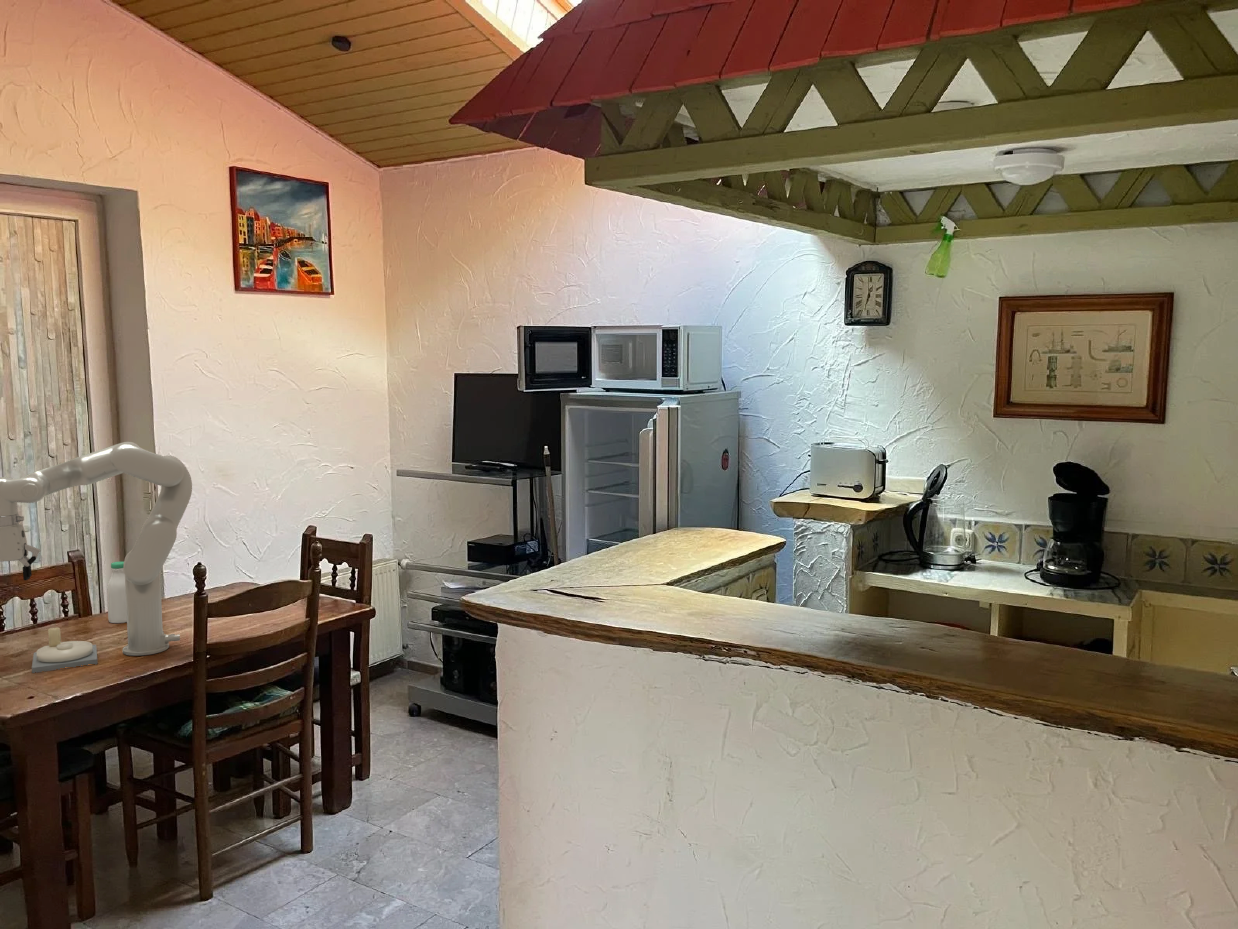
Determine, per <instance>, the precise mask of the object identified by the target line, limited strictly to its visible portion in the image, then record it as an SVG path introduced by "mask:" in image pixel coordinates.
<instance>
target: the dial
mask: <svg viewBox="0 0 1238 929" xmlns="http://www.w3.org/2000/svg"><path fill="white" fill-rule="evenodd" d="M47 636H48V645H44V646H42V647H40V648H38V649H37V650H36V652H37V660H38V661H41V662H64V661H71V660H76V659H80V658H83V657H86V656H88V655H90V654H91V653H92V652H93V646H92V645H93V643H92V642H90V641H85V640H70V641H69V640H68V641H61V640H62V639H61V628H60V627H50V628H48V629H47Z"/></svg>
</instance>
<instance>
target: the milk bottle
mask: <svg viewBox="0 0 1238 929" xmlns="http://www.w3.org/2000/svg"><path fill="white" fill-rule="evenodd" d="M123 566H124V561H114V562H112V563H110V568H111V574H110V577H109V580H108V582H107V586H106V592H107V593H106V594H107V596H106V597H107V600H106V601H107V619H108V622H109V623H111V624H124V623H127V613H126V591H125V575H124V571H123Z"/></svg>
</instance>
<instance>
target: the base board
mask: <svg viewBox="0 0 1238 929" xmlns="http://www.w3.org/2000/svg"><path fill="white" fill-rule="evenodd" d="M92 646H93V652H92V653H91V654H90V655H88V656H86V657H83V658H80V659H76V660H71V661H64V662H41V661H38V660H37V651H35V652H33V656H32V663H31V664H32V665H31V673H32V674H34V673H35V672H36V673H41V672H42V671H44V672H50V671H57V670H56V669H58V670H61V669H60V668H65V667H73V668H77V667H76V666H80V667H84V666H83V665H87V666H89V665H88V664H95V665H98V662H99V661H98V654H97V653H98V649H97V644H92ZM81 665H82V666H81ZM42 673H43V672H42Z"/></svg>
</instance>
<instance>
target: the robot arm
mask: <svg viewBox="0 0 1238 929" xmlns="http://www.w3.org/2000/svg"><path fill="white" fill-rule="evenodd" d="M122 474H125V475H128V476H131V477H133V478H137V479H140V480H143V481H145V482H149V483H152V484H154V485H158V486H160V492H159V494H158V496H157V498H156V501H155V502H154V506H153V507H152V509H151V511H150V513H149V515H148V516H147V518H146V520H145V521H144V522H143V524H142V526H141V530H140V533H139V535H138V537H137V539H136V540H135V543H134V545H133V547H132V549H131V550H129V552H127V553H126V555H125V557H124V560H123V562H124V566H123V571H124V575H125V591H126V613H127V622H126V628H127V645H125V646H123V648H122V654H123V655H126V656H135V657H136V656H137V657H139V656H148V655H155V654H158V653H161V652H164V651H166V650H167V649H169V648H170V643H169V642H177V641H178V642H179V641H181V635H180V634H179V633H178V634H176V633H170V634H166V633H165V632H164V630H163V628H164V627H163V608H162V586H161V585H162V584H161V582H162V580H161V571H162V569H163V567H164V565H165V563H166V561H167V559H168V558H169V554H170V553H171V551H172V549H173V547H174V544H176V543H175V542H176V540H177V534H178V533H177V530H178V526H179V524H180V522H181V520H182V518H183V516H184V514H185V512H186V509H187V507H188V506H189V503H190V501H191V497H192V493H193V481H192V477H191V474H190V471H189V470H188V468H187V467H186V466H185V464H184V463H183V461H181V460H180V458H178V457H176V456H173V455H161V454H158V453H155V452H152V451H149V450H147V449H144V448H142V447H140V446H139V444H137V443H136V442H132V441H124V442H119V443H116V444H113V445H111V446H108V447H105V448H102V449H98V450H96V451H92V452H90V453H87V454H84V455H80V456H78V457H75V458H72V459H69V460H67V461H64V462H61V463H59V464H55V465H52V466H48V467H46V468H43V469H39V470H37V471H35V472H31V473H29V474H27V475H24V476H23V477H20V478H13V477H9V476H8V477H7V476H5V477H4V476H3V477H2V476H0V563H1V562H14V561H15V562H17V561H19V562H20V563H21V564H23V567H22V575H23V577H22V578H23V581H28V580H29V579H31V577H32V574H33V573H32V565H33V563H34V562H35V561H36V560H38V557H39V556H40V553H41V551H42V550H41V549H39V548H37V547H34V546H33V545H30V544H28V540H27V535H26V532H25V528H24V526H23V524H22V523H20V522H24V521H25V516H24V515H23V516H22V515H20V514H19V510H18V503H26V504H31V503H32V504H35V503H37V502H39V501H41V500H43V499H44V498H45V496H49V495H52V494H54V493H57V492H60V491H63V490H67V489H70V488H73V487H77V486H88V485H92V484H96V483H98V482H101V481H104V480H107V479H109V478H113V477H115V476H118V475H122ZM29 552H30V553H32V555H31V557H30V558H29V557H28V556H29Z"/></svg>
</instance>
